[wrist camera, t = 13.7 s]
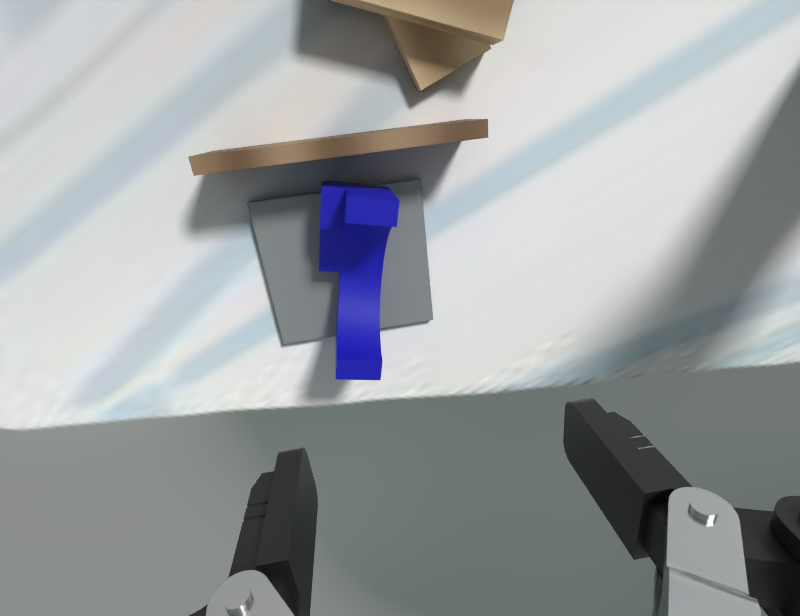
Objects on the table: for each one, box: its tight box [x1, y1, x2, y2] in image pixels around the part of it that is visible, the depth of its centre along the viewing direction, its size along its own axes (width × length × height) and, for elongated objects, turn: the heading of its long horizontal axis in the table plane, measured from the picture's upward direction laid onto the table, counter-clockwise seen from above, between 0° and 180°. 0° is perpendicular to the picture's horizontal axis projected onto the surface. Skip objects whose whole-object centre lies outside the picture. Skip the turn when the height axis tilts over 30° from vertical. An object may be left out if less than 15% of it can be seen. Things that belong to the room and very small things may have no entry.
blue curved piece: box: [319, 181, 400, 380], centre depth 29 cm, size 12×4×6 cm, turn 174°
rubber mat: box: [247, 179, 433, 344], centre depth 32 cm, size 12×11×1 cm
